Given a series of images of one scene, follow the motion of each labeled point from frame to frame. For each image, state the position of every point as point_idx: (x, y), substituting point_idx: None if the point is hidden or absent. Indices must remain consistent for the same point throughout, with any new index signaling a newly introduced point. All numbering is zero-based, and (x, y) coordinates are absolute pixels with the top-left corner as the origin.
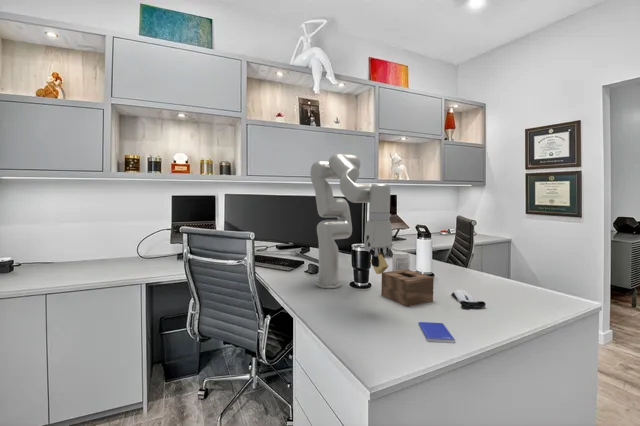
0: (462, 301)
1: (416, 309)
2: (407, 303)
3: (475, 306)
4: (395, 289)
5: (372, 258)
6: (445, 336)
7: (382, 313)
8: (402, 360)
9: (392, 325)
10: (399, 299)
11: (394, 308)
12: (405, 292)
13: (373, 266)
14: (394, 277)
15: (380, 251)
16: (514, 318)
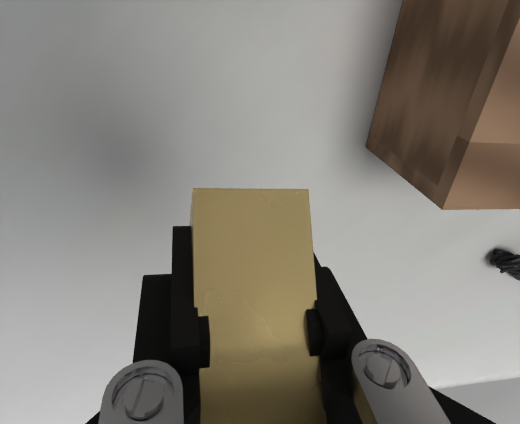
0: (513, 266)
1: (364, 189)
2: (372, 152)
3: (516, 277)
4: (431, 61)
5: (137, 347)
6: None
7: (196, 155)
8: (28, 413)
9: (147, 265)
10: (390, 91)
11: (296, 133)
12: (404, 157)
13: (190, 225)
14: (498, 60)
15: (372, 414)
16: (493, 344)
